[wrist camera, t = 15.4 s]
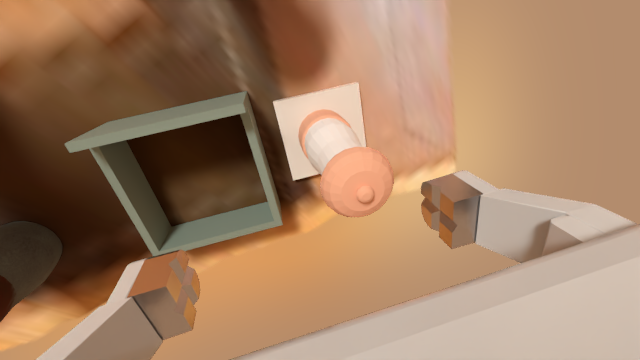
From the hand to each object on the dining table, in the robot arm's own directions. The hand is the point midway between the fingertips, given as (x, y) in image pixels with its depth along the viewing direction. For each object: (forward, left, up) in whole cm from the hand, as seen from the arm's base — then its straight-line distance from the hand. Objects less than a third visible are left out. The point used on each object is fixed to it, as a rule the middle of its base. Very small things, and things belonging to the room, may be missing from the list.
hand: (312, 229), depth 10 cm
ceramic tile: (+6, -7, -33) cm, 34 cm away
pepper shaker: (+5, -7, -32) cm, 33 cm away
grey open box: (-12, -8, -33) cm, 36 cm away
